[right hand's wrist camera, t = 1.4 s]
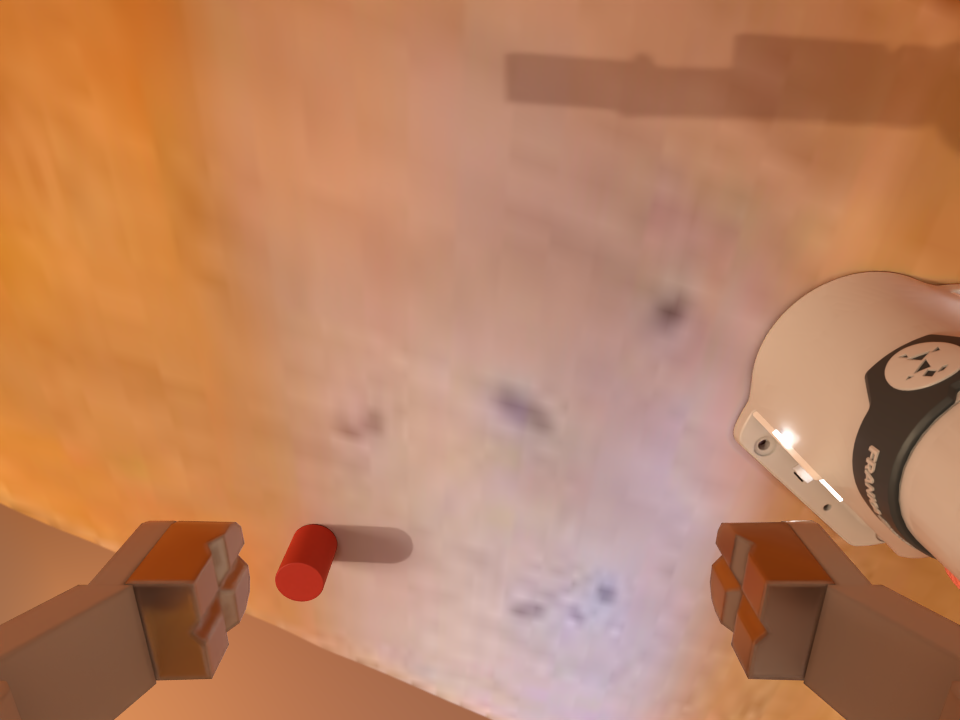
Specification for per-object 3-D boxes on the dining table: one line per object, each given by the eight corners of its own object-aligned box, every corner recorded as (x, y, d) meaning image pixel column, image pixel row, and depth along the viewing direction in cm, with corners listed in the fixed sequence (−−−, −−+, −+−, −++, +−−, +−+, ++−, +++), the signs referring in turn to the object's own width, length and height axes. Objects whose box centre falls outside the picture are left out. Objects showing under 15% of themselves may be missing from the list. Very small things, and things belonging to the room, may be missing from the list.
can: (288, 526, 49) (269, 565, 45) (332, 522, 49) (317, 560, 44) (298, 562, 50) (281, 603, 46) (341, 558, 50) (328, 599, 46)
